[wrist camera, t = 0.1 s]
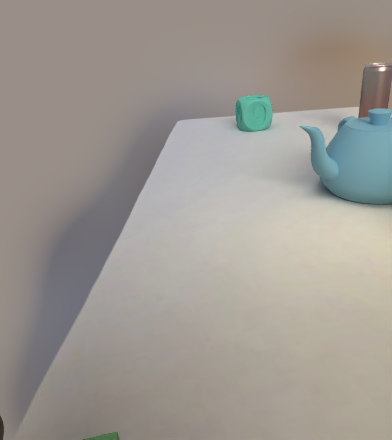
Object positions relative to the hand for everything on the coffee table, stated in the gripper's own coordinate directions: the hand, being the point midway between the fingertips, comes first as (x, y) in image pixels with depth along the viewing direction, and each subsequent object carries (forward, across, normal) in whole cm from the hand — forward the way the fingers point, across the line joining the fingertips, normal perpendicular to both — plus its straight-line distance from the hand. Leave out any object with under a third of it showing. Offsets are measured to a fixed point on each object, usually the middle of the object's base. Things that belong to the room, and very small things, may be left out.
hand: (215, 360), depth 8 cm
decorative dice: (+93, -32, +18) cm, 100 cm away
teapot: (+44, -35, +18) cm, 59 cm away
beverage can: (+75, -55, +18) cm, 95 cm away
